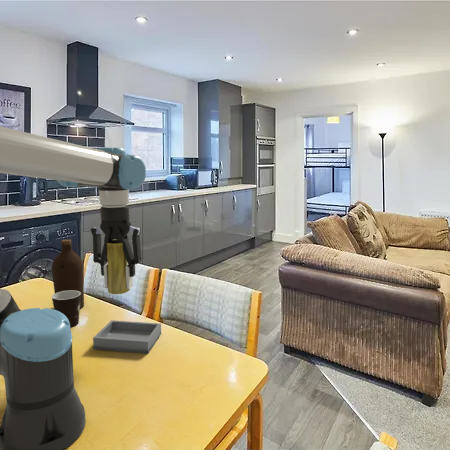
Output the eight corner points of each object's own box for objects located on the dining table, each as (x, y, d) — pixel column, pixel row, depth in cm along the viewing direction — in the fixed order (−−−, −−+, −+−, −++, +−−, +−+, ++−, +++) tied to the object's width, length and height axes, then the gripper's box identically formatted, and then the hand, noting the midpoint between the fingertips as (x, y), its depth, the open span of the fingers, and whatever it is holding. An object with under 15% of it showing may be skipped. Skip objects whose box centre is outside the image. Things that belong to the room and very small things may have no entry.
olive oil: (89, 309, 133) (85, 241, 129) (57, 315, 127) (52, 244, 123) (82, 300, 142) (78, 236, 138) (52, 305, 136) (47, 239, 132)
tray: (148, 353, 102) (148, 341, 102) (93, 349, 104) (93, 337, 104) (161, 334, 114) (161, 323, 114) (111, 330, 116) (111, 320, 116)
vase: (103, 293, 103) (100, 243, 100) (115, 285, 109) (113, 238, 106) (122, 295, 101) (120, 244, 98) (134, 288, 107) (132, 239, 104)
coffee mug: (72, 331, 116) (70, 300, 114) (47, 328, 117) (45, 298, 116) (92, 316, 127) (91, 288, 125) (69, 314, 129) (68, 286, 127)
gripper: (152, 204, 103) (155, 283, 107) (88, 203, 105) (93, 281, 109) (143, 207, 96) (146, 293, 100) (74, 206, 98) (81, 290, 102)
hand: (119, 286), depth 105 cm, fingers closed on vase, 6 cm apart
